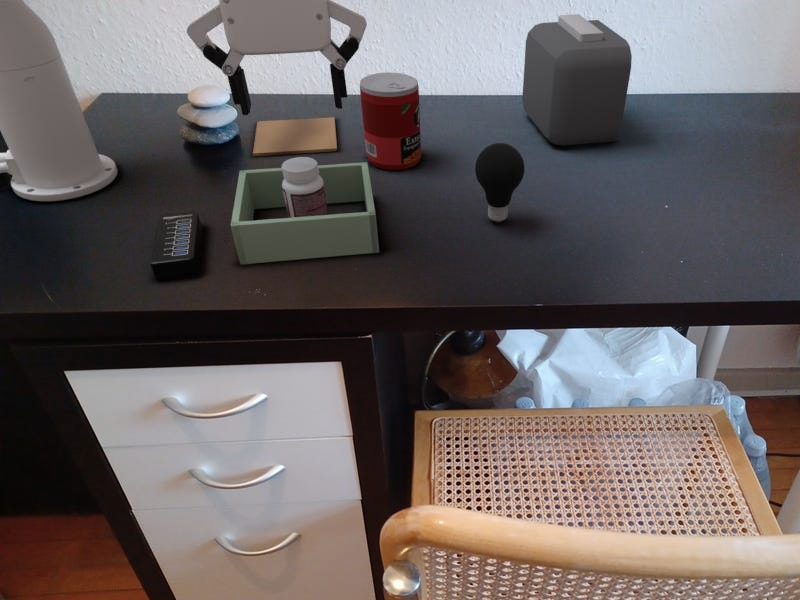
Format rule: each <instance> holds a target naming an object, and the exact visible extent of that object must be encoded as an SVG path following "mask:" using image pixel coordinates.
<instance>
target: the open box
mask: <svg viewBox="0 0 800 600" xmlns="http://www.w3.org/2000/svg"><path fill="white" fill-rule="evenodd" d="M318 169H319V176H321V178H322V179H323V182H324V189H325V195H326V201H327V205H329V204H330V205H331V204H341V203H342V204H343V203H357V202H364V203H365V211H360V212H347V213H334V214H329V215H319V216H306V217H294V218H288V217H283V218H281V217H280V218H268V219H257V220H254V214H255V210H262V209H275V208H286V204H285V199H284V194H283V189H282V182H283V180H284V176H283V171H282V167H274V168H273V167H272V168H257V169H241V170H239V172H238V179H237V185H236V190H235V197H234V202H233V207H232V214H231V220H230V229H231V233H232V237H233V241H234V244H235V248H236V249H235V250H236V252H237V256H238V260H239V263H240V265H251V264H261V263H274V262H286V261H297V260H307V259H309V260H310V259H320V258H330V257H343V256H354V255H366V254H377V253H378V254H379V253H380V246H379V245H380V244H379V236H378V235H379V234H378V224H377V215H376V208H375V203H374V196H373V190H372V189H373V188H372V184H371V176H370V170H369V164H368V161H364V162H363V161H361V162H351V163H336V164H333V163H332V164H320V165H319V164H318Z"/></svg>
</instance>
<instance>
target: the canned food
mask: <svg viewBox="0 0 800 600" xmlns="http://www.w3.org/2000/svg"><path fill="white" fill-rule="evenodd" d="M419 90H420V87H419V81H418V79H417V78H415V77H413V76H411V75H409V74H406V73H400V72H377V73H371V74H369V75H366V76H364V77H362V78H361V79H360V81H359V92H360V93H359V95H360V96H359V97H360V105H361V115H362V125H363V133H364V135H363V136H364V141H365V144H364V146H365V153H366V157H367V160H368V162H369V163H370V164H371V165H372V166H374V167H376V168H378V169H382V170H388V171H400V170H401V171H402V170H407V169H410V168H412V167H415V166H416V165H417V164H418V163H419V162H420V159H421V156H422V141H421V140H422V139H421V138H422V137H421V114H420V110H421V109H420V91H419Z"/></svg>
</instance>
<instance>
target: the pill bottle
mask: <svg viewBox="0 0 800 600" xmlns="http://www.w3.org/2000/svg"><path fill="white" fill-rule="evenodd" d="M318 165H319V164H318V162H317V160H316V159H315V158H312V157H307V156H297V157H293V158H289V159H286V160H284V161H283V162H282V164H281V168H282V171H283V176H284V180H283V182H282V189H283V194H284V199H285V204H286V207H285V208H286V214H287V218H294V217H306V216H319V215H330V214H329V210H328V209H329V208H328V204H327V201H326V195H325V189H324V182H323V179H322V178H321V176H319V169H318Z"/></svg>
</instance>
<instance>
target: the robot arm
mask: <svg viewBox="0 0 800 600" xmlns="http://www.w3.org/2000/svg"><path fill="white" fill-rule="evenodd" d="M331 19H333V20H335V21H337V22H340V23H342V24H343V25H346V26H348V27H349V31H348V35H347V37H346V38H345V39H344V41H343V42H342V44H341V45H340V46H339V45H338V44H337V43H336V42H335V41H334V40H333V39H332V23H331ZM221 24H223V29H224V34H225V39H226V42H227V44H228V46H229V50H228V52H225V51H224V50H223V49H222V48H220V47H219V46H218V45H216V44H215V43H214V42H213V41H212V40H211V38H210V37H209V35H208V33H209V32H210V31H212V30H213V29H215V28H217V27H218V26H219V25H221ZM366 29H367V20H366V17H364V15H361V14H359V13H357V12H356V11H353V10H352V9H349V8H347V7H345V6H343V5H340V4H339V3H336V2H335V1H333V0H218V5H216V6H215V7H213V8H211V9H210V10H209V11H207V12H205V13H204V14H202V15H201V16H200V17H198V18H197V19H195V20H193V22H191V23H189V25H188V27H187V28H186V33H187V36H188V37H189V38H190V39H191V41H192V42H193V43H194V45H195V46H196V47H197V49H199V51H201V53H202V55H203V57H204V58H205V59H207V60H208V61H209V62H210V63H212V64H213V65H214V66H216V67H217V69H220V70H221V71H222V74H223V75H225V76H226V77H227V80H228V84H229V88H230V93H231V97H232V101H233V104H234V105H239V107H240V111H241V114H242V116H248V115H249V114H250V113H251V109H252V100H251V97H250V92H249V87H248V82H247V79H246V74H245V70H244V68H242V66H240V65H241V63H242V61H243V59H244V57H245V56H264V55H265V56H266V55H282V54H283V55H284V54H302V53H314V52H320V53H321V54H322V55H323V56H324V57H325V58H326V59H327V60H328V61H329V62H330V63H329V71H330V78H331V84H332V92H333V100H334V106H335V108H336V109H337V110H341V109H343V102H342V98H343V99H345V98H348V90H347V81H346V74H345V73H346V72H345V69H346V67H347V64H348V63H349V61H350V60H351V59H352V58H353V56H354V55H355V54H356V53H357V51H358V50H359V49H360V44H361V42H362V40H363V37H364V34H365V32H366ZM0 133H1V135H2V137H3V139H4V142H5V144H6V146H7V148H8V149H7V150H6V152H0V174H3V173H7V174H8V175H11V176H12V177H11V179H10V186H11V188H12V190H13V192H14V193H15V194H16V195H17V196H18V197H20V198H23V199H25V200H27V201H28V200H29V201H32V202H33V201H34V202H60V201H68V200H73V199H78V198H81V197H84V196H87V195H90V194H93V193H95V192H98V191H100V190H102V189H103V188H106V187H107V186H108V185H110V184H111V183H112V182H113V181H114V180H115V179H116V177H117V176H118V168H117V164H116V162H115V161H114V160H113V159H112V158H110V157H109V156H106V155H104V154H100V153H99V152H98V149H97V148H96V145H95V142H94V139H93V136H92V134H91V131H90V128H89V126H88V123H87V121H86V118H85V115H84V113H83V110H82V108H81V105H80V102H79V100H78V97H77V95H76V91H75V89H74V86H73V84H72V81H71V79H70V76H69V73H68V71H67V69H66V65H65V63H64V60H63V57H62V55H61V53H60V50H59V47H58V44H57V42H56V40H55V38H54V35H53V33H52V32H51V30H50V29H49V27H48V26H47V24H46V23H45V21H44V20H43V19H42V18H41V17H40V16H39V15H38V14H37V13H36V12H35V11H34V10H33V9H32V8H31V7H30V6H29V5H28V4H27V3H26V2H25V1H24V0H0Z"/></svg>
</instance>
